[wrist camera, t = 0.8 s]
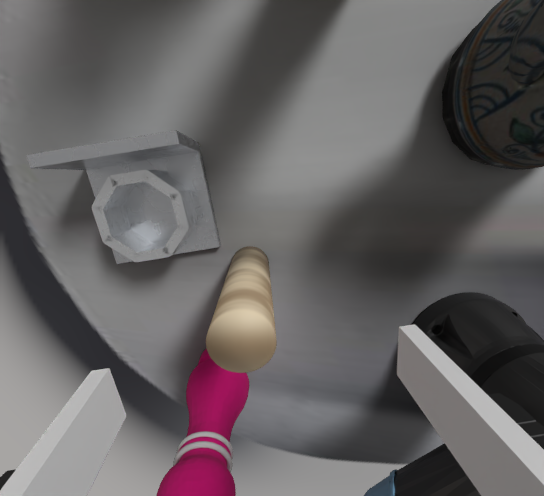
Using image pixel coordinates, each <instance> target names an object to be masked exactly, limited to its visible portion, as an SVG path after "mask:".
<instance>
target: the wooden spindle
mask: <svg viewBox="0 0 544 496" xmlns="http://www.w3.org/2000/svg"><path fill="white" fill-rule="evenodd" d="M206 347H207V351H208V354H209V356H210V357H211V359H212V360H213V361H214V362H215V363H216V364H217V365H218V366H220V367H221V368H223V369H225V370H228V371H231V372H236V373H246V372H251V371H255V370H257V369H259V368H261V367H263V366H264V365H265V364H266V363H268V361H269V360H270V359H271V358H272V356H273V354H274V352H275V349H276V332H275V322H274V312H273V302H272V292H271V282H270V272H269V262H268V258H267V256H266V254H265V253H264V252H263V251H262V250H260V249H259V248H256V247H244V248H242V249H240V250H238V251H237V252H236V253H235V255H234V256H233V259H232V262H231V265H230V268H229V271H228V274H227V277H226V279H225V282H224V285H223V288H222V291H221V294H220V297H219V300H218V303H217V306H216V309H215V312H214V315H213V318H212V321H211V324H210V327H209V330H208V333H207V336H206Z"/></svg>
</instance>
